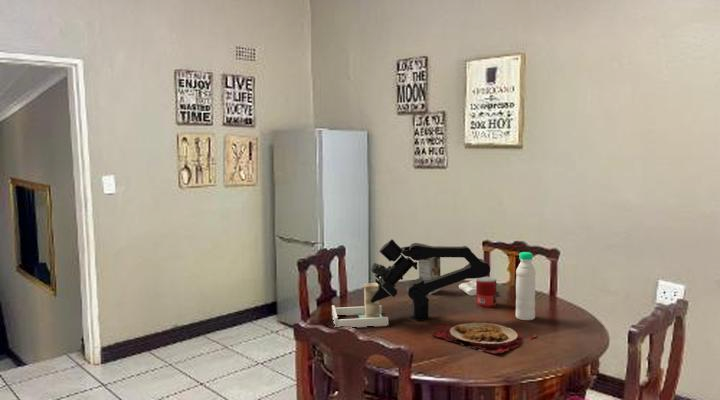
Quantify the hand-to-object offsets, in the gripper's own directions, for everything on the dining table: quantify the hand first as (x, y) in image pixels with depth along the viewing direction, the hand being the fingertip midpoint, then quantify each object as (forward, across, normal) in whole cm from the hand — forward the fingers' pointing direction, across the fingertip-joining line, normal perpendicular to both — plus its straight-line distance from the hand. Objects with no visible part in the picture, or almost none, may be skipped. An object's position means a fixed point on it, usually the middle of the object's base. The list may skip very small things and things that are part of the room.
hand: (370, 300), depth 202 cm
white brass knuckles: (-32, -32, +44) cm, 63 cm away
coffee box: (-17, -36, +28) cm, 49 cm away
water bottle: (-35, +8, +47) cm, 59 cm away
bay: (+9, 0, +2) cm, 9 cm away
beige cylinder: (+4, 0, +5) cm, 7 cm away
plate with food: (-19, +25, +31) cm, 44 cm away
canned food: (-29, -11, +41) cm, 52 cm away
